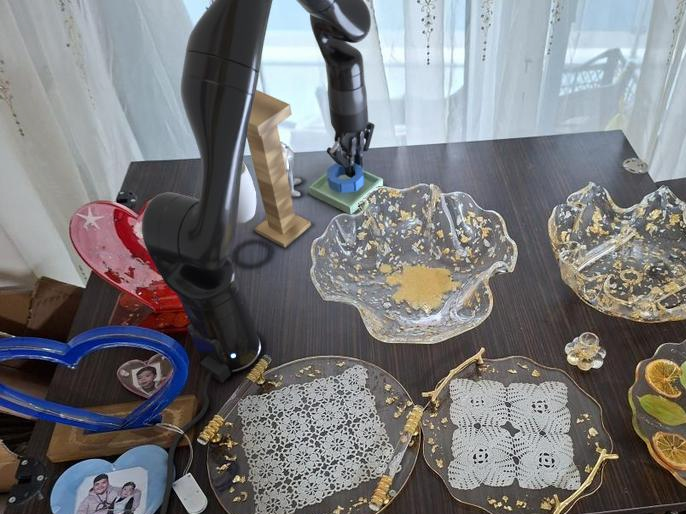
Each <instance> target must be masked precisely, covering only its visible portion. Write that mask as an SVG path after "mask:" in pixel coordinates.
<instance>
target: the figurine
mask: <svg viewBox="0 0 686 514" xmlns="http://www.w3.org/2000/svg"><path fill="white" fill-rule="evenodd" d="M280 143H281V148H282V153H283V158H284V163H285V168H286V173H287V178H288V183H289V188H290V193H291V198H299V197H300V196H301V192H300V191H298V190H296V189H295V188H294V187H295V186H297V185H300V184H302V179H301V178H297V177H295V170H294V166H295V152H294V150H293V149H292V148H291V147H290V146H289V145H287V143H285V142H283V141H280Z"/></svg>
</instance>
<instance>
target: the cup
mask: <svg viewBox="0 0 686 514" xmlns="http://www.w3.org/2000/svg"><path fill="white" fill-rule="evenodd" d="M256 209H257V191H256V188H255V184H254V181H253V179H252V175H251V173H250V172H249V169H248V167H247V165H246V163H245V162H244V161H243V163H242V172H241V182H240V193H239V203H238V215H237V224H245V223H247V222H249V221H250V220H252V219H253V218H254V217H255V214H256Z"/></svg>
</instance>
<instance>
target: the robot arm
mask: <svg viewBox="0 0 686 514" xmlns="http://www.w3.org/2000/svg"><path fill="white" fill-rule="evenodd" d="M273 1H274V0H213V1H212V3H211V4H210V5H209V6H208V7H207V9H206V10H205V12H204V13H202V15H201V16H200V18H199V19H198V21H197V22H196V24H195V25H194V27H193V29H192V30H191V32H190V34H189V36H188V40H187V44H186V48H185V53H184V60H183V67H182V72H181V79H180V96H181V102H182V105H183V109H184V112H185V116H186V118H187V121H188V124H189V127H190V130H191V132H192V134H193V138H194V140H195V143H196V146H197V149H198V152H199V156H200V164H201V182H200V183H201V185H200V191H199V192H200V194H199V198H197V197H192V196H189V195H185V194H181V193H179V192H178V193H177V192H172V191H167V192H162V193H159V194H157V195H156V196H154V197H153V198H152V199H151V200H150V201H149V202H148V203H147V204H146V207H145V208H144V211H143V214H142V218H141V234H142V239H143V242H144V246H145V248H146V251H147V253H148V255H149V257H150V259H151V261H152V262H153V264H154V266H155V268H156V270H157V271H158V273H159V275H160V277H161V279H162V280H163V282H164V283H165V285H166V286H167V287H168V288H169V289H170V290H171V291H172V292H174V293H175V294H176V295H177V298H178V300H179V301H180V304H181V306H182V309H183V310H184V312H185V315H186V317H187V319H188V322H189V323H190V324H189V325H187V327H186V330H187V331H188V333H189V335H190V338H191V340H192V342H193V344H194V346H195V349H196V351H197V353H198V355H199V357H200V359H201V361H200V362H199V363H200V366H201V368H202V370H203V372H204V373H206V374H207V375H206V377H205V380H204V382H203V384H202V388H201V398H202V400H203V405H202V408H201V410H200V412H199V413H198V414H197V415H196V416H195V417H193V419H191V420H190V421H189V422H188V423H187V424H186V425H184V426H183V427H182V428H181V429H182V430H183V431H184V432H185V433H187V432H188V431H189V430H190V429H191V428H192V427H194V426H195V425H196V424H197V423H198V422H200V421H201V419H202V418H203V417H204V416H205V414H206V413H207V411H208V408H209V406H210V399H209V397H208V393H207V392H208V387H209V385H210V382H211V381H212V379H215V380H216V381H218V382H219V383H221V384H223V383H224V382H225V381H226V380H227V379H228V378H229V377H230V376H231V375H232V374H235V373H240V372H242V371H245V370H246V369H248V368H250V367H251V366H253V365H254V364H255V363H256V362H257V360H258V359H259V357H260V355H261V352H262V343H261V340H260V337H259V335H258V331H257V329H256V327H255V323H254V321H253V317H252V314H251V311H250V308H249V305H248V302H247V299H246V296H245V292H244V290H243V286H242V284H241V280H240V278H239V274H238V271H237V269H236V267H235V264H234V263H233V262H232V261H231V259H229V256H230V255H231V252H232V249H233V246H234V242H235V238H236V233H237V224H238V223H237V215H238V203H239V193H240V182H241V172H242V163H243V162H244V156H245V151H246V144H247V133H248V127H249V122H250V117H251V112H252V108H253V103H254V99H255V94H256V90H257V89H258V82H259V77H260V70H261V64H262V57H263V50H264V44H265V39H266V34H267V29H268V23H269V19H270V14H271V9H272V6H273ZM295 1H296V2H297V3H298V4H299V6H301V8H303V10H304V11H305V12H307V13H308V14H309V22H310V27H311V30H312V33H313V36H314V39H315V41H316V43H317V46H318V49H319V51H320V54H321V56H322V59H323V60H324V63H325V72H326V80H327V100H328V101H327V102H328V108H329V109H328V110H329V117H330V125H331V127H332V129H333V130H334V139H333V140H334V144H333V145H332V147H330V146H329V147H327V148H326V154H328V156H329V157H331V159H332V160H333V161H334V163H336V164H339V165H341V166H343V167H344V168H345V175H346V176H348V177H350V178H352V177H353V176H355V164H354V163H356V164H358V165H360V166H361V167H362V169H363V168H364V165H363V158H364V156H365V152H368V151H369V148H370V145H371V142H372V138H373V135H374V130H375V127H376V125H375V123H372V122H371V121H369V110H368V94H367V88H366V87H367V86H366V81H365V69H364V58H363V55H362V53H361V51H360V50H359V49H358V48H356V47H354V46H353V45H352V44H357V43H360V42H362V41H363V40H365V39H366V38H367V36H368V35H369V32H370V30H371V27H372V17H371V12H370V9H369V6H368V5H367V3H366V2H365V1H364V0H295ZM349 43H350V44H349ZM182 436H183V435H182V434H181V433H179V431H178V432H177V433H176V435H174V438H173V440H172V442H171V443H170V447H169V451H168V454H167V462H166V463H167V464H166V467H167V469H166V482H165V488H164V493H163V497H162V502H161V507H160V512H159V514H167V511H168V506H169V501H170V497H171V491H172V486H173V481H174V480H173V479H174V458H175V451H176V448H177V446H178V443H179V441H180V440H181V438H182Z"/></svg>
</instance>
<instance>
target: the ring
mask: <svg viewBox="0 0 686 514" xmlns="http://www.w3.org/2000/svg"><path fill="white" fill-rule="evenodd" d="M354 164H355V176H353V177H352V178H351V179H344V180H341V179H339V178H338V177H339V176H341V175H345V168H344V167H343V166H341V165H339V164H337V163H336V162H334V163H333V164H332V165H331V166H330V167H328V168H327V170H326V173H327V177H328V184H329V187H330V189H332V190H334V191H336V192H339V193H340V192H341V191H342V193H350V192H354V190H355V191H357V190H358V189H359V188H361V187H362V186H363V185H364V184H363V183H364V174H363V170H364V169H363V168H362V167H361V166H360V165H358V164H356V163H354Z"/></svg>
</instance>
